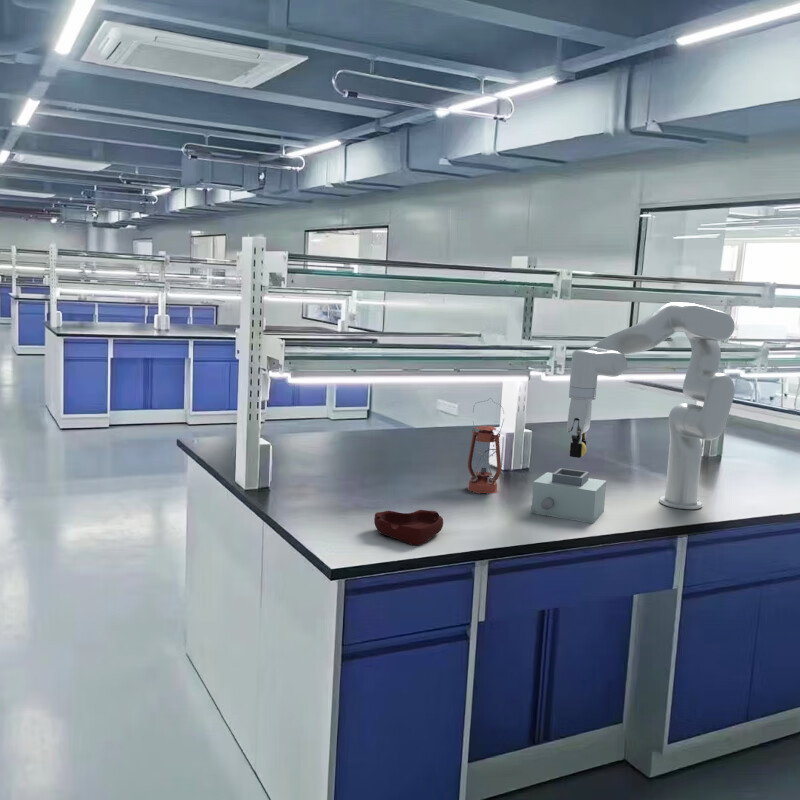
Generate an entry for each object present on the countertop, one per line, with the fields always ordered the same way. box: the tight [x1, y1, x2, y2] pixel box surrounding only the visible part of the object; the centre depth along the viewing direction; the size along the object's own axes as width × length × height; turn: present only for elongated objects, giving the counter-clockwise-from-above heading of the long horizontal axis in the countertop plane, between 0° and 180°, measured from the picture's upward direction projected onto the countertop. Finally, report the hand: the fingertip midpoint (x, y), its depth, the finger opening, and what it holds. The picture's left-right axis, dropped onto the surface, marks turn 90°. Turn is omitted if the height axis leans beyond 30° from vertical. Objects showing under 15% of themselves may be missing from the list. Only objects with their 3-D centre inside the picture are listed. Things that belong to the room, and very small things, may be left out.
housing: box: [530, 467, 607, 524], centre depth 227 cm, size 17×18×12 cm
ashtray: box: [373, 509, 444, 546], centre depth 202 cm, size 18×16×5 cm
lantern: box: [467, 397, 505, 495], centre depth 248 cm, size 10×10×30 cm
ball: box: [580, 442, 587, 458], centre depth 226 cm, size 5×5×5 cm
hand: (577, 454), depth 226 cm, fingers closed on ball, 4 cm apart
